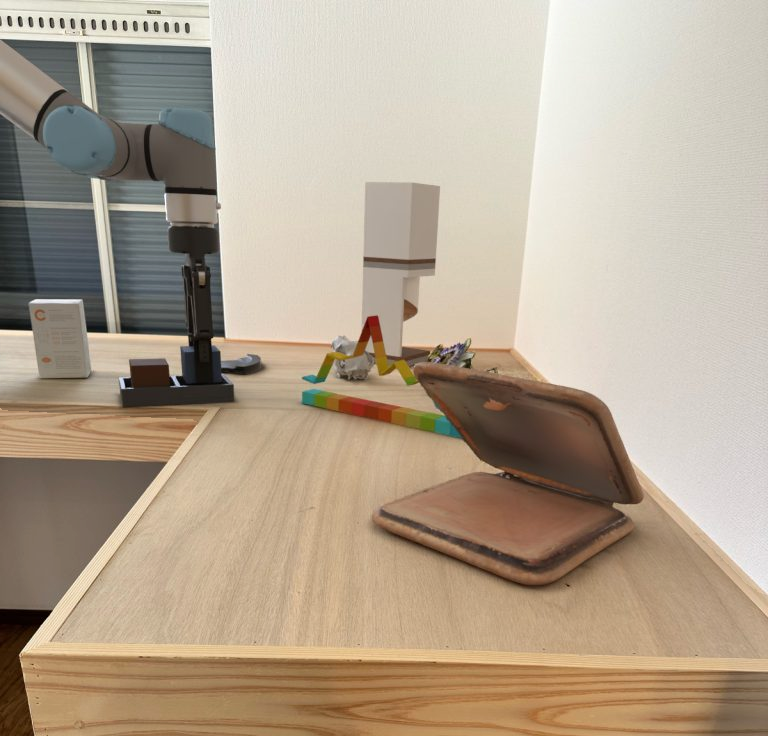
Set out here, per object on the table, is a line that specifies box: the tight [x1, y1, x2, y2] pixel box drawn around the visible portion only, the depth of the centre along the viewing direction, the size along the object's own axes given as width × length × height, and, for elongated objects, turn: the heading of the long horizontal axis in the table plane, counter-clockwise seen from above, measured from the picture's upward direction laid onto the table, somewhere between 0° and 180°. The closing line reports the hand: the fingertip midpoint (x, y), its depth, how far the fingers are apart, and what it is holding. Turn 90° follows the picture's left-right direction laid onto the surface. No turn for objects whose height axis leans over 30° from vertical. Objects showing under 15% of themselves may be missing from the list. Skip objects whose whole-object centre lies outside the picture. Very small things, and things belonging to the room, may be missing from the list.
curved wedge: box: [221, 353, 262, 375], centre depth 144 cm, size 8×14×2 cm, turn 162°
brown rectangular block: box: [128, 357, 171, 388], centre depth 116 cm, size 6×6×5 cm
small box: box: [27, 298, 92, 379], centre depth 129 cm, size 8×6×13 cm
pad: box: [179, 345, 223, 384], centre depth 118 cm, size 6×6×5 cm
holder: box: [118, 373, 235, 408], centre depth 118 cm, size 17×9×3 cm, turn 111°
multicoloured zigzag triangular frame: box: [301, 315, 462, 439], centre depth 109 cm, size 30×3×15 cm, turn 55°
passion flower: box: [427, 337, 499, 374], centre depth 126 cm, size 11×11×12 cm
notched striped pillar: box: [361, 181, 441, 367], centre depth 151 cm, size 11×11×35 cm
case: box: [371, 361, 645, 586], centre depth 70 cm, size 20×21×16 cm
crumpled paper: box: [330, 335, 375, 380], centre depth 139 cm, size 8×9×12 cm
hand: (201, 377), depth 119 cm, fingers closed on pad, 6 cm apart
